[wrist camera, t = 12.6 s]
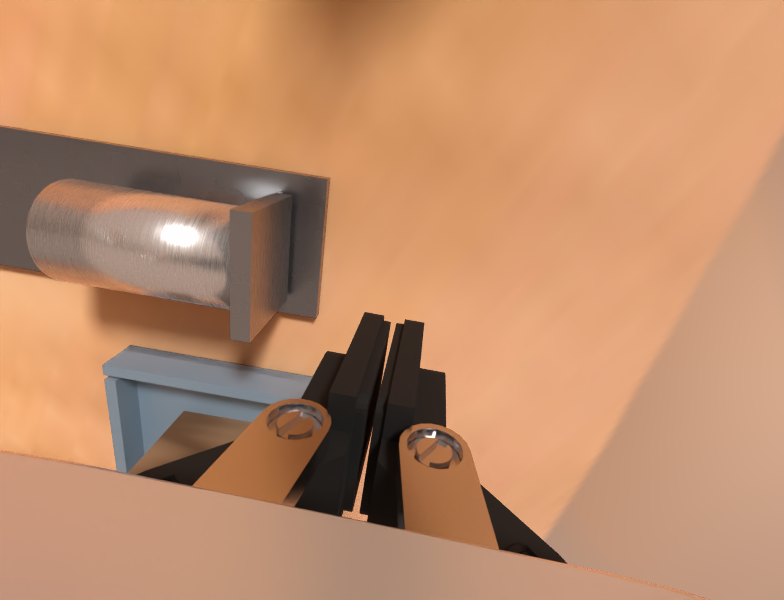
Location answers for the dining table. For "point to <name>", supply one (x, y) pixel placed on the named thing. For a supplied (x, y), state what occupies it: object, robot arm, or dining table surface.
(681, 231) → the dining table surface
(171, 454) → the block
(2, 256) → the rail
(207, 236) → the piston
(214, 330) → the dining table surface
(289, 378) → the tray
